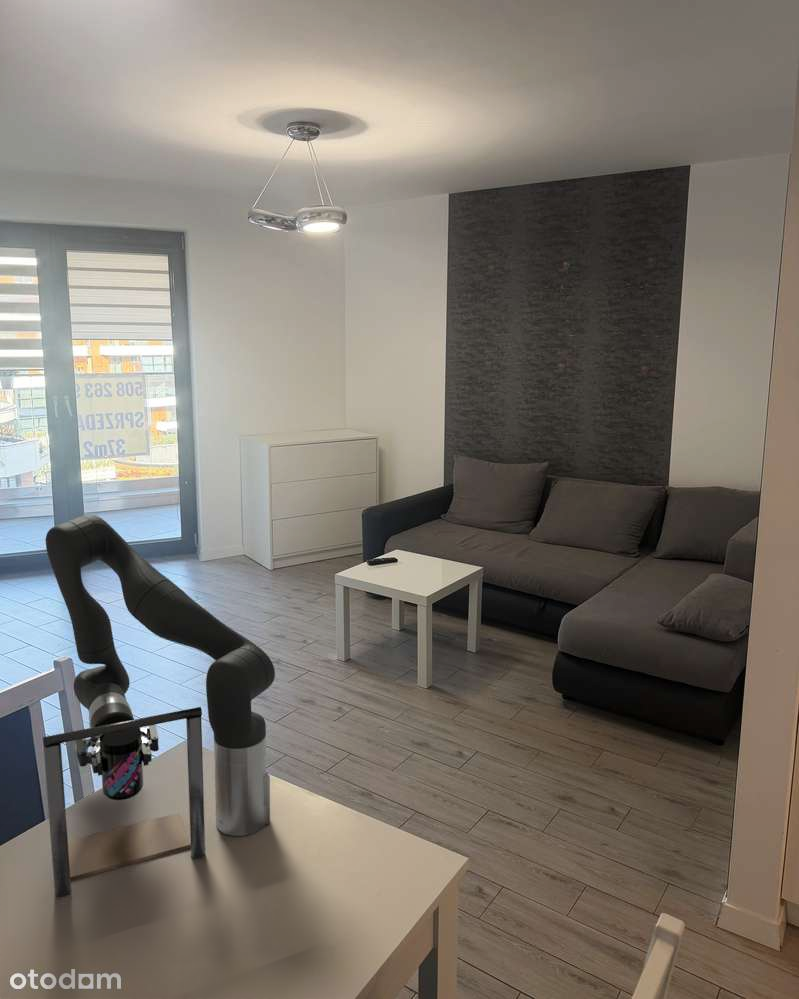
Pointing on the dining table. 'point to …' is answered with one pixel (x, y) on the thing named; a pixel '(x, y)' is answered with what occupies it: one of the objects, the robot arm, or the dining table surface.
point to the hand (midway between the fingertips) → (123, 765)
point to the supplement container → (122, 764)
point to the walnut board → (126, 845)
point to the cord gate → (54, 741)
